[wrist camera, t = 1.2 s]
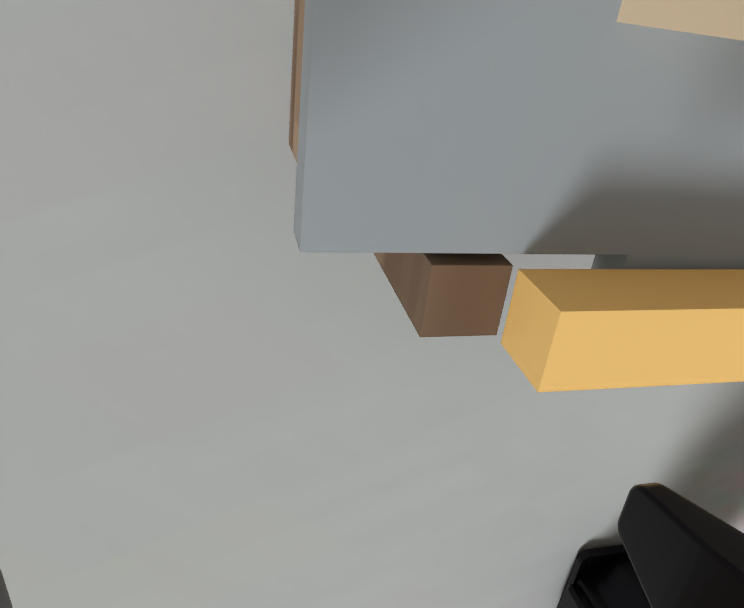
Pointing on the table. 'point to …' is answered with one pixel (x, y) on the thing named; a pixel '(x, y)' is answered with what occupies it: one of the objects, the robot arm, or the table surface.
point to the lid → (524, 129)
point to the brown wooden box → (428, 260)
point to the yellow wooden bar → (626, 327)
